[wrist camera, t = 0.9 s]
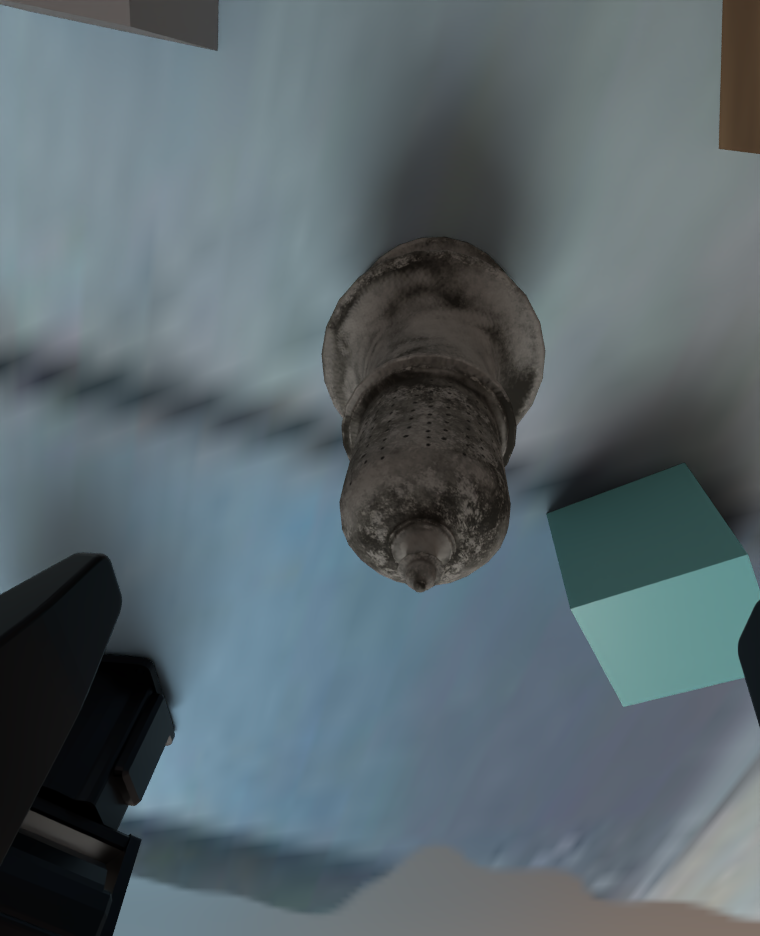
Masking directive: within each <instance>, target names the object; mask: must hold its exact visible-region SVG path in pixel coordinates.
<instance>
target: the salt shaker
mask: <svg viewBox="0 0 760 936" xmlns="http://www.w3.org/2000/svg"><path fill="white" fill-rule="evenodd" d="M544 359H545V346H544V341H543V336H542V330H541V325H540V321H539V319H538V317H537V315H536V314H535V312H534V310H533V308H532V306H531V304H530V302H529V300H528V298H527V296H526V295H525V294H524V292H523V291H522V290H521V289H520V288H519V287H518V286H517V285H516V284H515V283H514V282H513V281H512V280H511V279H510V278H509V277H508V276H507V275H506V274H505V272H504V271H503V270H502V269H501V267H500V266H499V265H498V264H497V263H496V262H495V261H494V260H493V259H492V258H491V257H490V256H489V255H488V254H487V253H485V252H483V251H481V250H480V249H478V248H476V247H474V246H473V245H471V244H469V243H467V242H463V241H459V240H455V239H451V238H447V237H432V238H419V239H416V240H413V241H410V242H407V243H404V244H401V245H398V246H397V247H395V248H394V249H392V250H391V251H389V252H388V253H386V254H385V255H383V256H382V257H380V258H379V259H378V260H377V261H376V262H375V264H374V265H373V266H372V267H371V268H370V269H369V270H368V272H366V273H365V274H363V275H362V276H360V277H359V278H358V279H357V280H356V281H355V282H354V283H353V285H352V286H351V287H350V288H349V289H348V290H347V291H346V293H345V294H344V295H343V296H342V297H341V298H340V299H339V301H338V303H337V305H336V307H335V309H334V311H333V314H332V316H331V318H330V320H329V322H328V324H327V326H326V331H325V337H324V343H323V349H322V363H323V372H324V381H325V384H326V386H327V389H328V392H329V394H330V397H331V399H332V402H333V404H334V406H335V408H336V409H337V410H338V412H339V413H340V415H341V416H342V417H343V421H342V436H343V446H344V448H345V450H346V453H347V455H348V458H349V460H350V463H349V467H348V470H347V474H346V478H345V481H344V485H343V489H342V494H341V498H340V512H341V522H342V530H343V533H344V535H345V537H346V539H347V542H348V544H349V546H350V547H351V548H352V550H353V551H354V552H355V553H356V554H357V556H358V557H359V558H360V559H361V560H362V561H363V562H364V563H366V564H367V565H368V566H370V567H371V568H372V569H374V570H375V571H376V572H378V573H379V574H381V575H383V576H385V577H387V578H390V579H392V580H394V581H397V582H401V583H406V584H407V585H408V586H409V587H410V588H412V589H413V590H415V591H416V592H424V591H425V590H428V589H430V588H431V587H433V586H435V585H440V584H446V583H451V582H453V581H456V580H459V579H461V578H464V577H466V576H468V575H470V574H471V573H473V572H474V571H476V570H477V569H479V568H480V567H481V566H483V565H484V564H486V563H487V562H489V560H490V559H491V558H492V557H493V556H494V555H495V553H496V552H497V551H498V550H499V549H500V547H501V545H502V542H503V540H504V538H505V536H506V533H507V530H508V525H509V518H510V506H511V503H510V497H509V491H508V486H507V480H506V474H505V468H504V467H505V466H506V465H507V463H508V461H509V458H510V456H511V454H512V451H513V449H514V446H515V439H516V427H517V425H518V423H519V422H520V421H521V419H522V418H523V417H524V415H525V414H526V413H527V411H528V410H529V409H530V407H531V406H532V404H533V402H534V399H535V397H536V394H537V392H538V389H539V387H540V384H541V382H542V379H543V369H544Z"/></svg>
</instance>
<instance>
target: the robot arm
mask: <svg viewBox="0 0 760 936" xmlns="http://www.w3.org/2000/svg"><path fill="white" fill-rule="evenodd" d="M121 605H122V597H121V592H120V589H119V586H118V583H117V579H116V576H115V573H114V570H113V567H112V563H111V561H110V559H109V558H108V557H107V556H106V555H104V554H99V553H84V552H82V553H76V554H73V555H71V556H70V557H68V558H66V559H64V560H62V561H61V562H59V563H57V564H55V565H53V566H51V567H50V568H48V569H46V570H44V571H42V572H41V573H39V574H37V575H35V576H33V577H32V578H30V579H28V580H26V581H24V582H22V583H21V584H19V585H17V586H15V587H13V588H12V589H10V590H8V591H6V592H4V593H2V594H1V595H0V936H113V932H114V929H115V926H116V922H117V919H118V916H119V912H120V909H121V906H122V903H123V899H124V896H125V893H126V889H127V886H128V883H129V880H130V876H131V873H132V870H133V866H134V863H135V860H136V856H137V853H138V850H139V846H140V843H141V838H139V837H137V836H134V835H132V834H130V835H126V834H124V833H122V832H120V831H117V829H118V827H119V825H120V823H121V821H122V818H123V816H124V814H125V812H126V810H127V808H128V805H131V806H135V805H137V804H138V803H139V802H140V801H141V800H142V797H143V795H144V793H145V790H146V788H147V786H148V784H149V781H150V779H151V777H152V775H153V772H154V770H155V768H156V766H157V763H158V761H159V759H160V756H161V754H162V752H163V750H164V747H165V746H168V745H171V743H172V741H173V739H174V737H175V733H174V730H173V724H172V721H171V717H170V714H169V711H168V707H167V704H166V701H165V698H164V696H163V694H162V690H161V687H160V684H159V680H158V677H157V674H156V671H155V667H154V665H153V663H152V662H151V661H150V660H148V659H146V658H140V657H128V656H115V655H103V654H104V651H105V649H106V646H107V644H108V641H109V639H110V636H111V634H112V631H113V629H114V626H115V624H116V621H117V618H118V616H119V613H120V610H121ZM738 656H739V660H740V664H741V667H742V670H743V673H744V677H745V680H746V683H747V687H748V690H749V693H750V697H751V700H752V703H753V706H754V710H755V713H756V716H757V720H758V723H759V726H760V600H759V601H758V602H757V603H756V604H755V606H754V608H753V610H752V612H751V615H750V617H749V619H748V621H747V623H746V625H745V627H744V629H743V632H742V634H741V636H740V638H739V642H738Z"/></svg>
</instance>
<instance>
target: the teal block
mask: <svg viewBox="0 0 760 936" xmlns="http://www.w3.org/2000/svg"><path fill="white" fill-rule="evenodd" d="M547 518H548V522H549V526H550V530H551V534H552V538H553V542H554V546H555V550H556V554H557V558H558V561H559V565H560V569H561V573H562V577H563V581H564V585H565V589H566V593H567V597H568V601H569V605H570V609H571V611H572V613H573V614H574V616H575V618H576V620H577V622H578V624H579V626H580V627H581V629H582V631H583V633H584V635H585V637H586V638H587V640H588V642H589V644H590V646H591V648H592V650H593V651H594V653H595V655H596V657H597V659H598V661H599V662H600V664H601V666H602V668H603V670H604V672H605V674H606V675H607V677H608V679H609V681H610V683H611V685H612V686H613V688H614V690H615V692H616V694H617V696H618V698H619V699H620V701H621V703H622V705H623V707H625V706H629V705H634V704H638V703H642V702H646V701H650V700H654V699H658V698H662V697H666V696H671V695H675V694H679V693H683V692H687V691H691V690H695V689H699V688H704V687H708V686H712V685H716V684H720V683H724V682H728V681H732V680H736V679H741V678H745V677H744V673H743V670H742V667H741V664H740V660H739V656H738V642H739V638H740V636H741V634H742V632H743V629H744V627H745V625H746V623H747V621H748V619H749V617H750V615H751V612H752V610H753V608H754V606H755V604H756V603H757V602H758V601H759V600H760V590H759V587H758V584H757V581H756V578H755V575H754V572H753V569H752V566H751V563H750V560H749V557H748V554H747V553H746V551H745V550H744V548H743V547H742V545H741V544H740V542H739V541H738V539H737V538H736V537H735V535H734V534H733V532H732V531H731V529H730V528H729V526H728V525H727V523H726V522H725V521H724V519H723V518H722V516H721V515H720V513H719V512H718V510H717V509H716V507H715V506H714V505H713V503H712V502H711V500H710V499H709V497H708V496H707V494H706V493H705V491H704V490H703V489H702V487H701V486H700V484H699V483H698V481H697V480H696V478H695V477H694V476H693V474H692V473H691V471H690V470H689V468H688V467H687V465H686V464H685V463H682V464H679V465H677V466H674V467H671V468H669V469H666V470H663V471H661V472H658V473H655V474H652V475H650V476H647V477H644V478H642V479H639V480H636V481H634V482H631V483H628V484H625V485H623V486H620V487H617V488H615V489H612V490H609V491H607V492H604V493H601V494H599V495H596V496H593V497H590V498H588V499H585V500H582V501H580V502H577V503H574V504H572V505H569V506H566V507H563V508H561V509H558V510H555V511H553V512H550V513H547Z"/></svg>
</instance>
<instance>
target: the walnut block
mask: <svg viewBox="0 0 760 936" xmlns="http://www.w3.org/2000/svg"><path fill="white" fill-rule="evenodd" d="M719 149H725V150H733V151H740V152H748V153H756V154H760V0H723V10H722V48H721V87H720V126H719Z"/></svg>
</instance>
